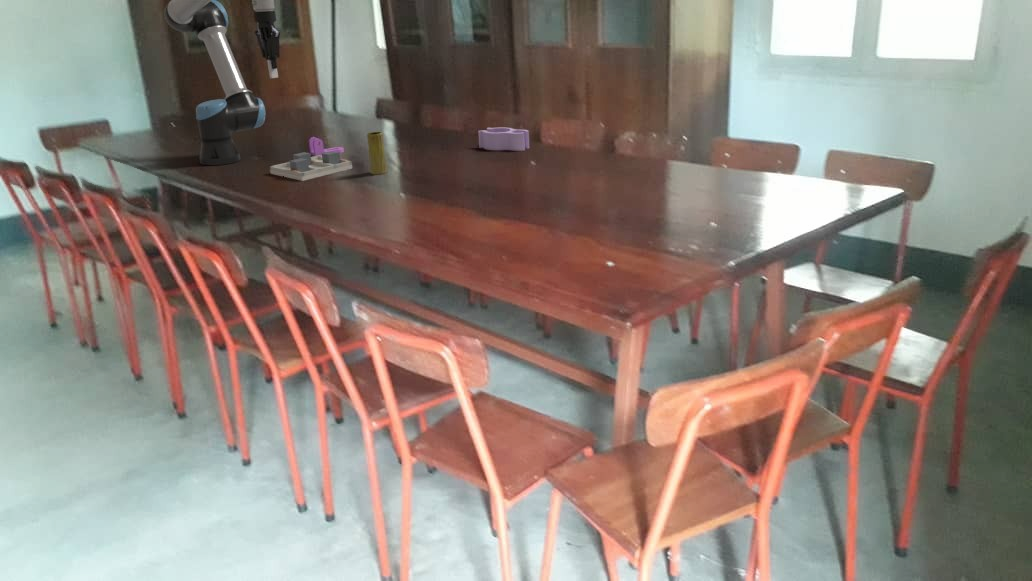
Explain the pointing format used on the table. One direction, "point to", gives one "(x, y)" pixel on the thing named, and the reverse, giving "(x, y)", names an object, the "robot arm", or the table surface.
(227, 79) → the robot arm
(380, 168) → the vase
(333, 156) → the slider
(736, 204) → the table surface
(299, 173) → the switch board
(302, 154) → the slider
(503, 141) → the clip
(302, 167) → the slider
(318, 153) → the bracket
